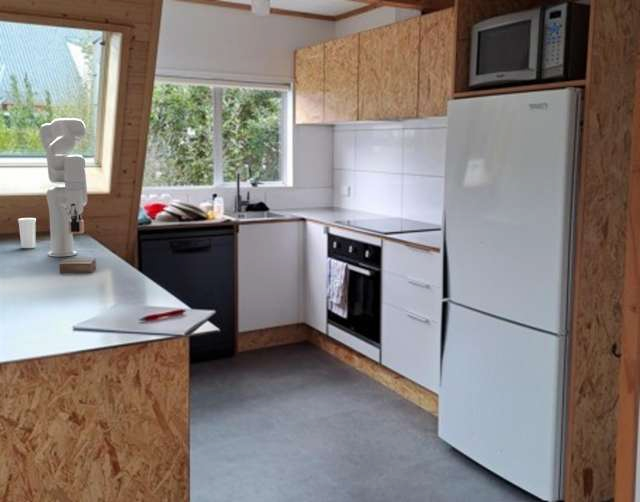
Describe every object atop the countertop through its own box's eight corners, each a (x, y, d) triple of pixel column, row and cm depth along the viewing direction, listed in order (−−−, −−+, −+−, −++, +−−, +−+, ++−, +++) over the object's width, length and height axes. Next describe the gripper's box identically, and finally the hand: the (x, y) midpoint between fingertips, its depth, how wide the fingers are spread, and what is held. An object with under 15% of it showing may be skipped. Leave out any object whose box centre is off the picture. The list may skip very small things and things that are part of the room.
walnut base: (66, 267, 278) (65, 258, 278) (95, 267, 280) (95, 258, 280) (59, 273, 267) (59, 263, 266) (90, 273, 269) (90, 263, 268)
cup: (20, 246, 326) (18, 217, 323) (38, 246, 328) (36, 217, 326) (18, 249, 318) (16, 220, 316) (36, 249, 320) (35, 219, 318)
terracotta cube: (71, 231, 273) (71, 219, 272) (84, 231, 274) (83, 219, 273) (69, 233, 268) (68, 221, 267) (81, 233, 269) (81, 221, 268)
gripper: (69, 184, 275) (71, 227, 278) (60, 187, 259) (62, 233, 262) (88, 184, 276) (90, 227, 280) (80, 188, 260) (82, 233, 263)
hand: (76, 230), depth 271 cm, fingers closed on terracotta cube, 4 cm apart
